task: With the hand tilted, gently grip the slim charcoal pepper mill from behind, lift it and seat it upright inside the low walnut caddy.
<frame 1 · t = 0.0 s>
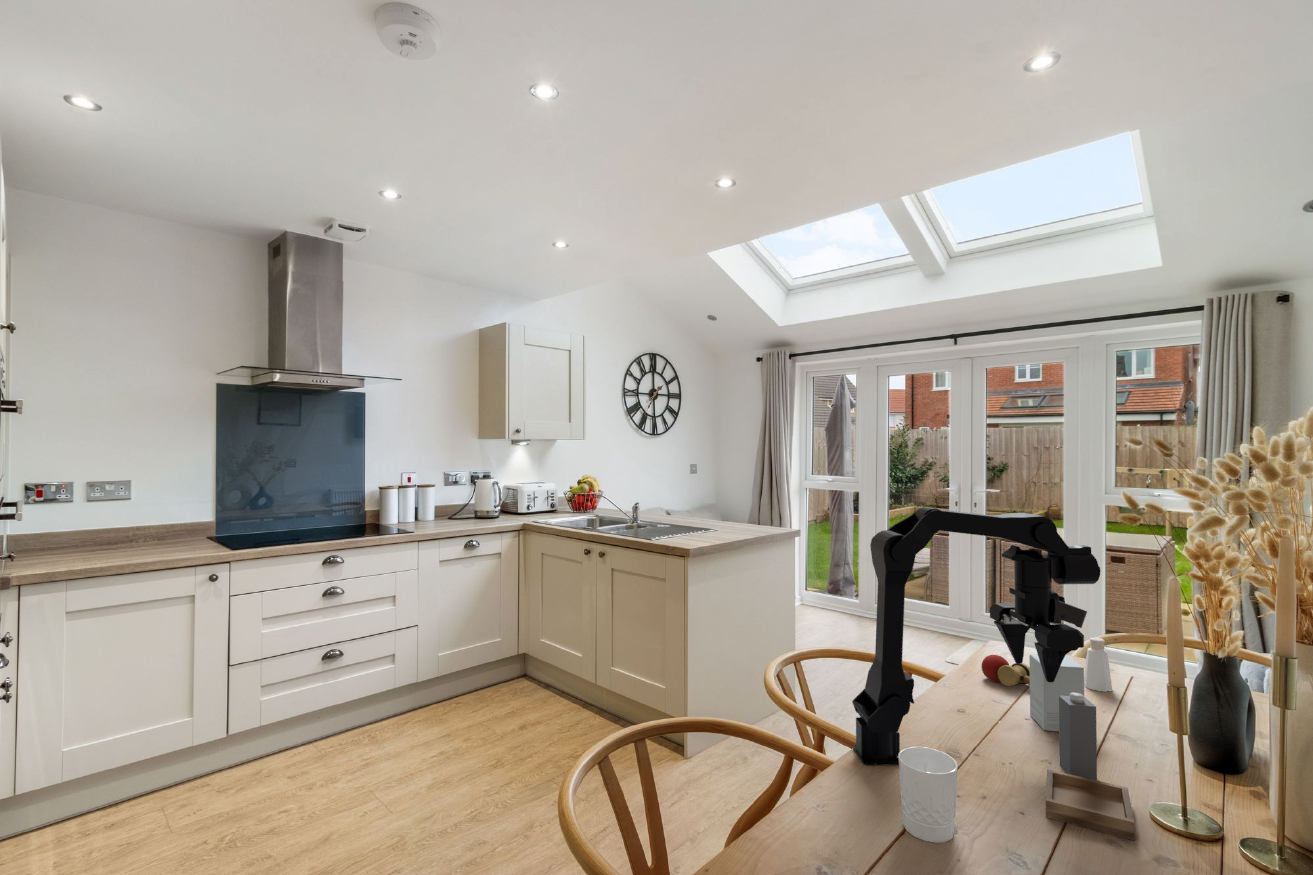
hand: (1033, 672, 113), 15 cm above the table, tool pointing down, fingers open, 9 cm apart
supplement box: (1056, 725, 125), on the table
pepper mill: (1077, 772, 107), on the table
pepper shaker: (1097, 688, 143), on the table
white cup: (928, 830, 92), on the table
caddy: (1087, 810, 96), on the table
kendama: (1023, 690, 143), on the table
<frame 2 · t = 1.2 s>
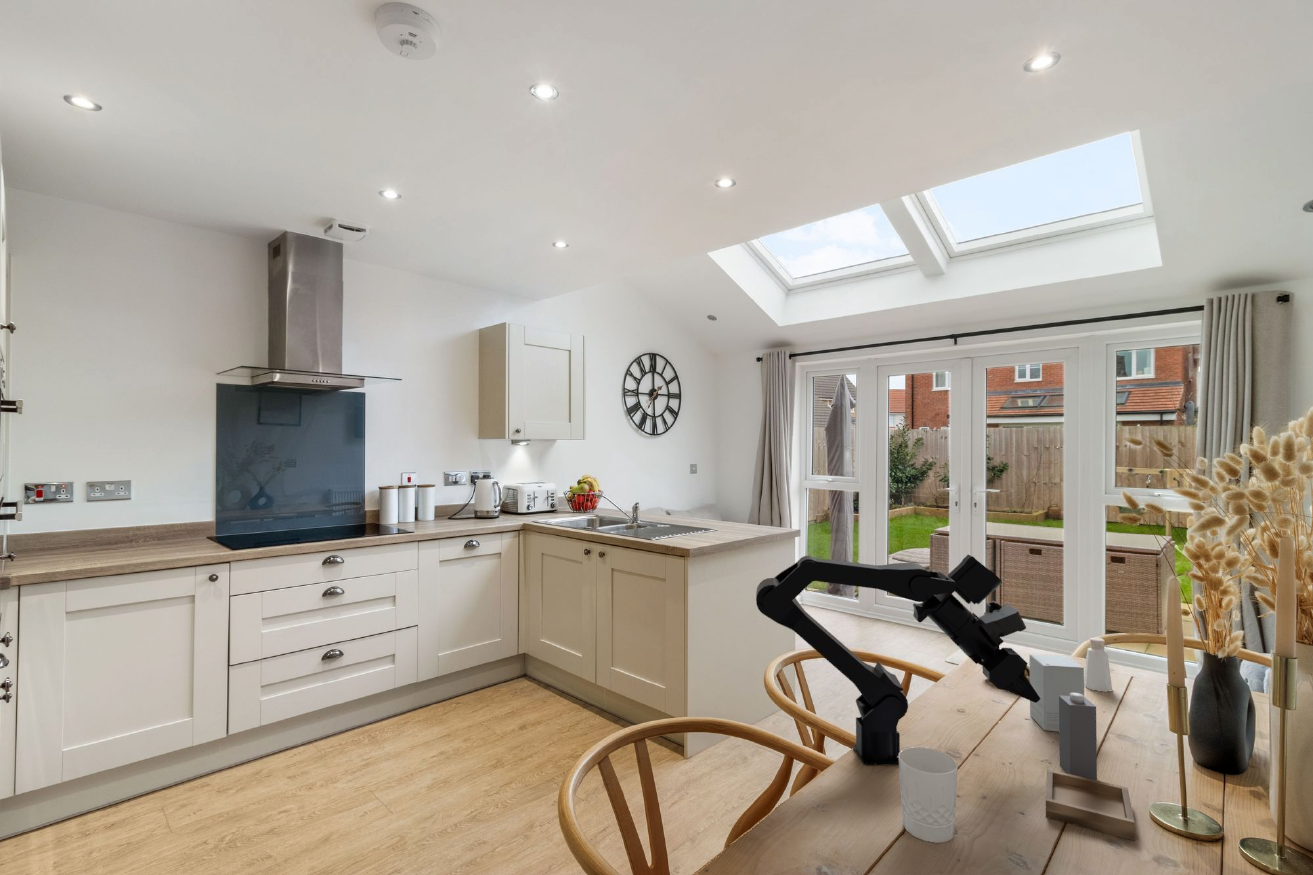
hand: (1026, 689, 108), 13 cm above the table, tool tilted 45°, fingers open, 9 cm apart
nothing on the table moved.
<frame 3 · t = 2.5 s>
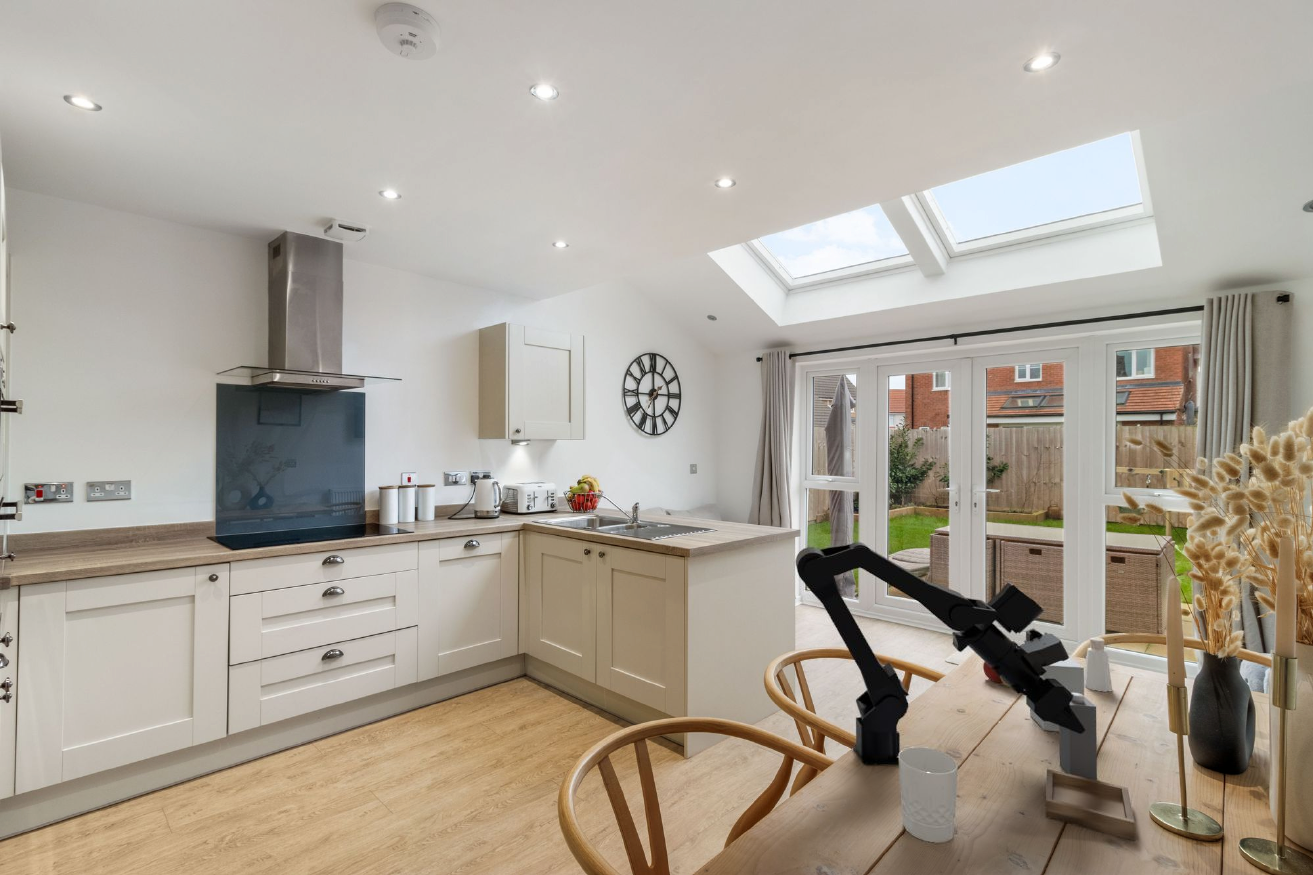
hand: (1069, 719, 107), 9 cm above the table, tool tilted 45°, fingers open, 9 cm apart
nothing on the table moved.
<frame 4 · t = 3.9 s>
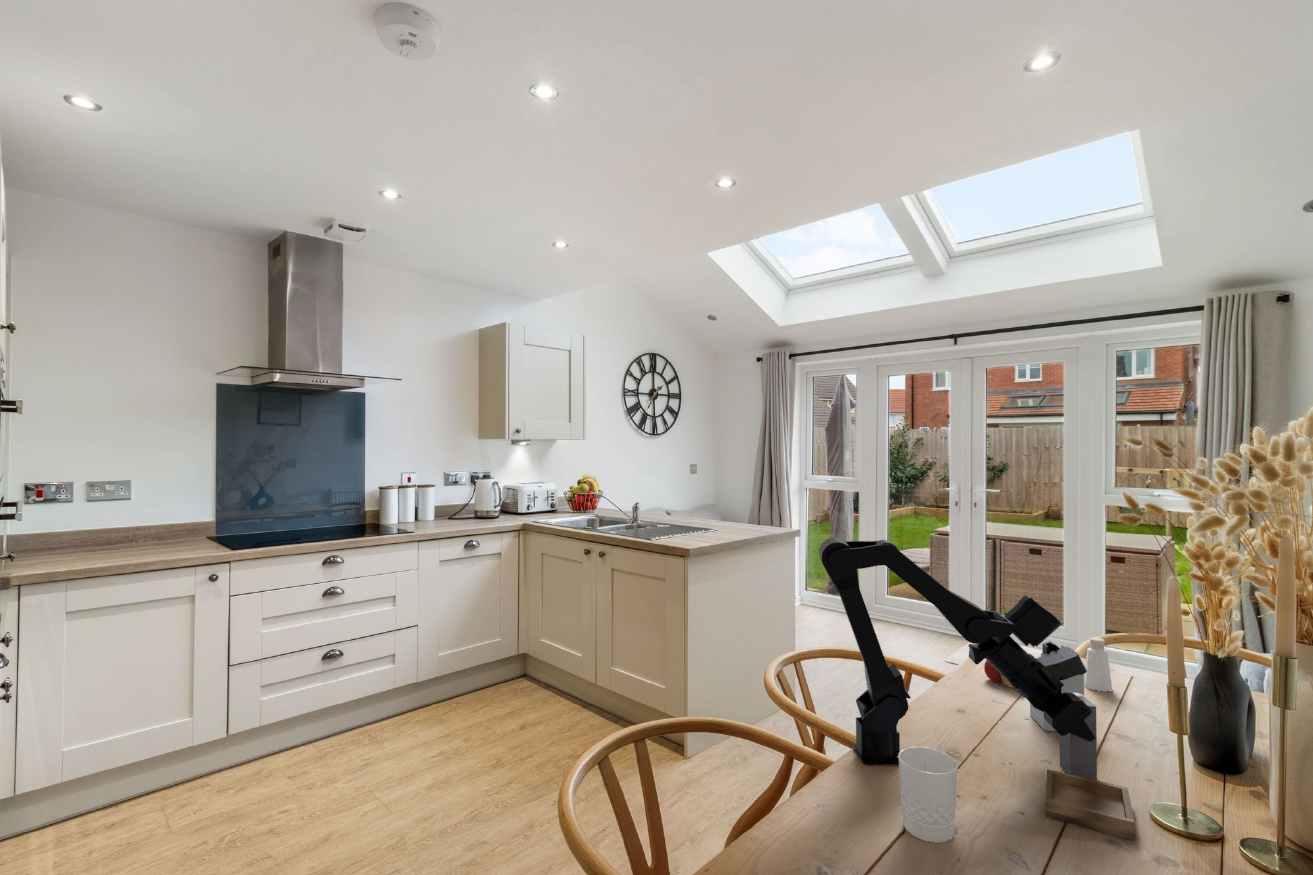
hand: (1086, 733, 107), 7 cm above the table, tool tilted 45°, fingers closed on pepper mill, 4 cm apart
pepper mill: (1077, 772, 107), on the table, touching gripper
everything else where it was.
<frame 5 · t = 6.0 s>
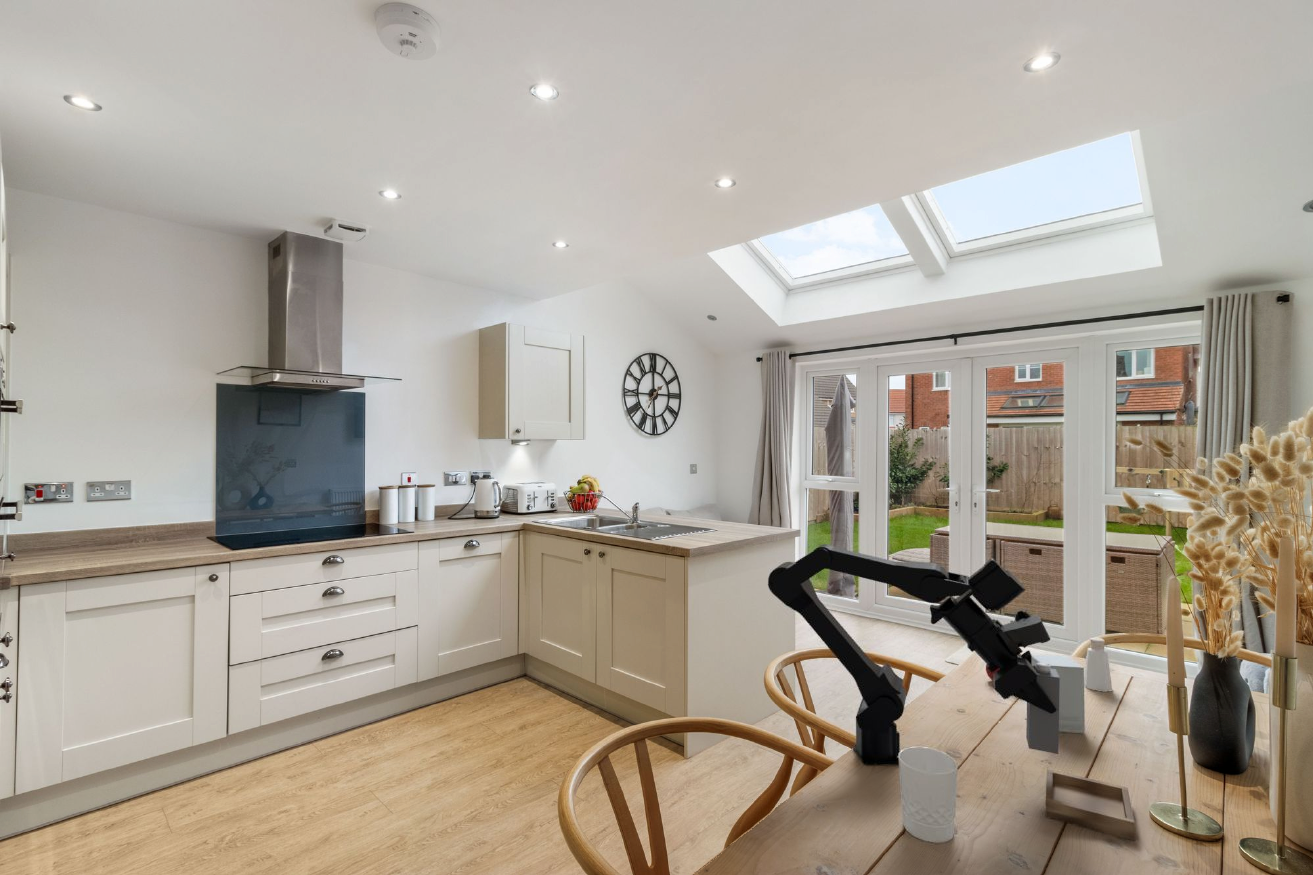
hand: (1052, 706, 101), 13 cm above the table, tool tilted 45°, fingers closed on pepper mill, 4 cm apart
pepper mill: (1042, 745, 102), point 7 cm above the table, touching gripper
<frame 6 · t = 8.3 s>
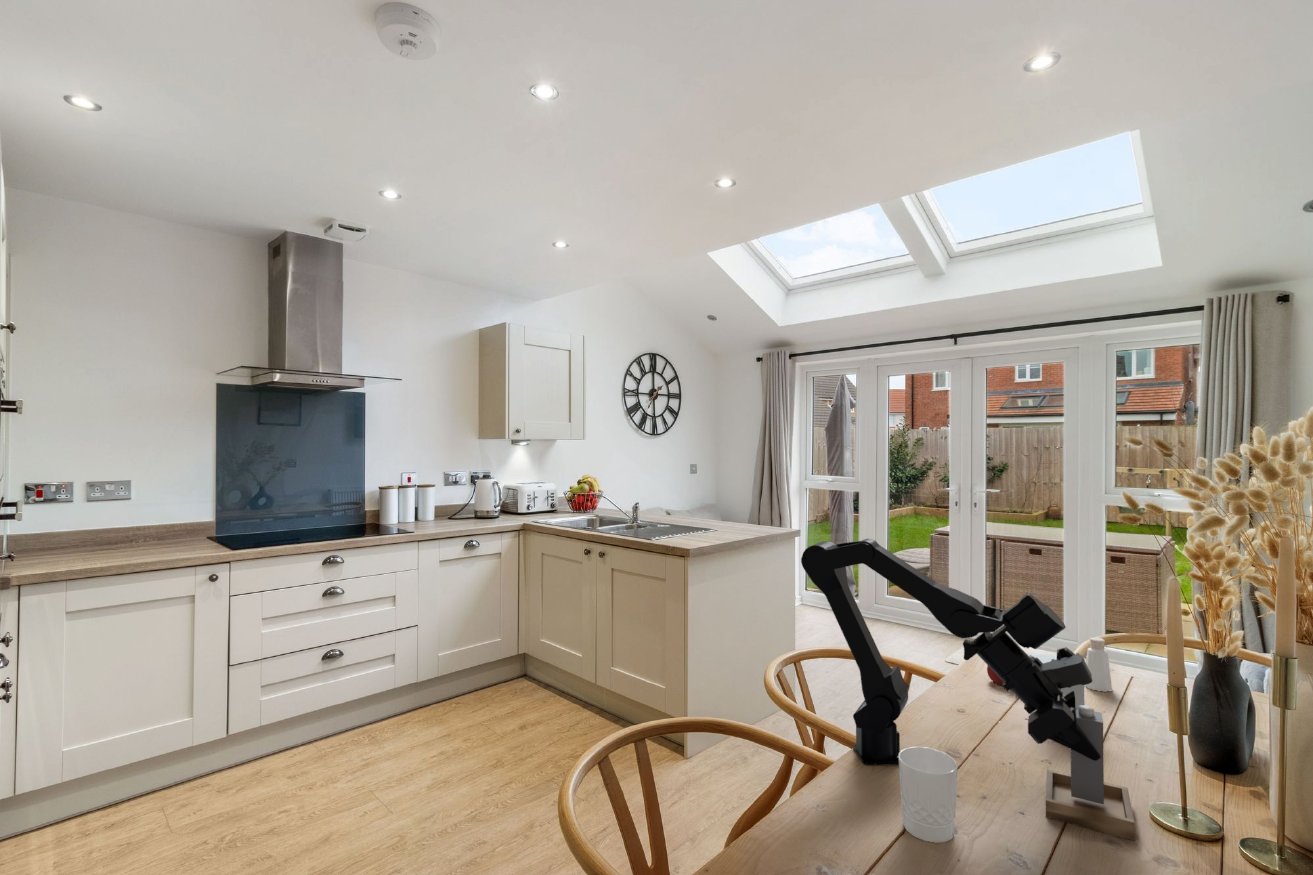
hand: (1097, 752, 95), 9 cm above the table, tool tilted 45°, fingers closed on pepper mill, 4 cm apart
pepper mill: (1086, 793, 96), point 2 cm above the table, touching gripper
when the fingers open (9 cm above the table, at t = 8.4 s): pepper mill drops 1 cm, resting on caddy.
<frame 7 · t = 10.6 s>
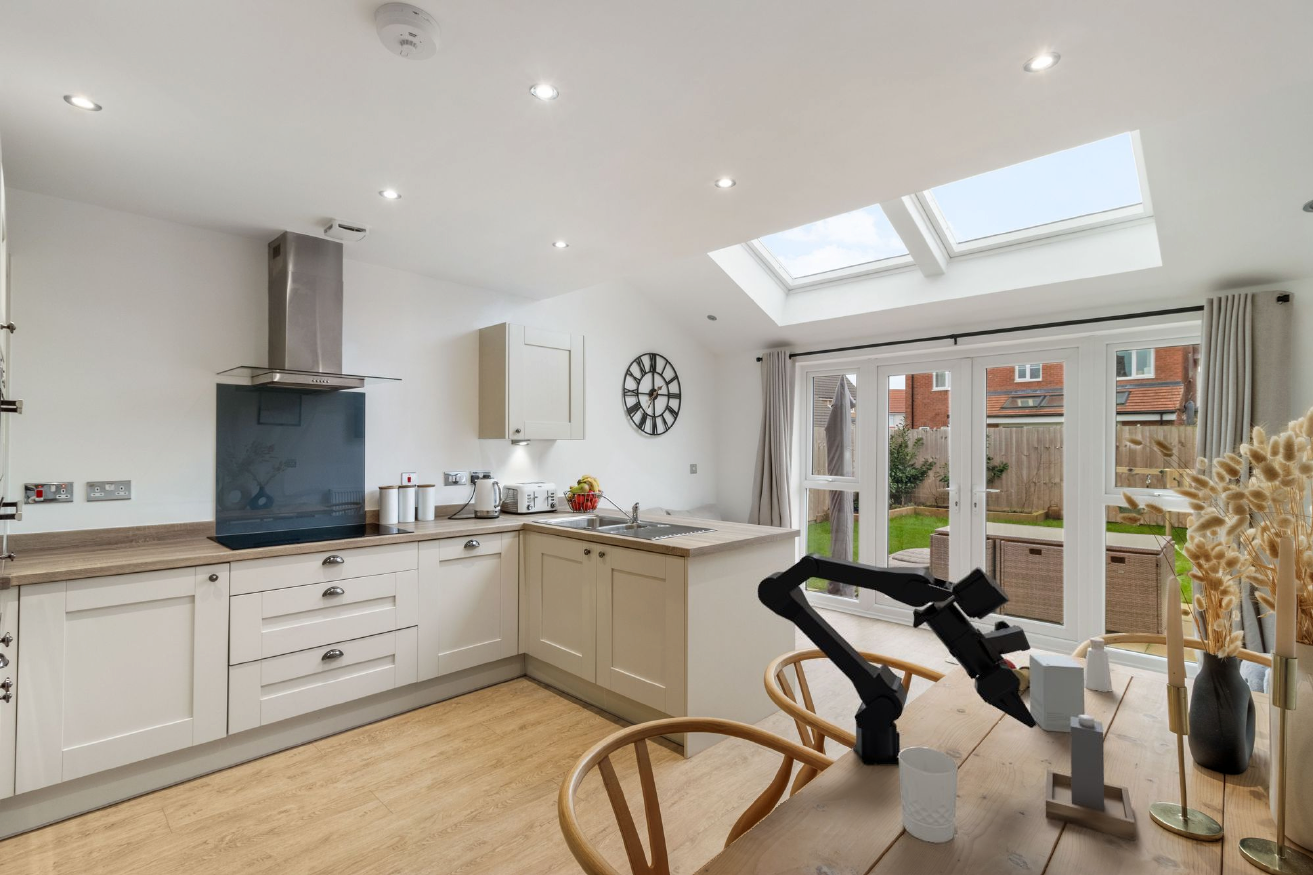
hand: (1028, 717, 102), 12 cm above the table, tool tilted 40°, fingers open, 9 cm apart
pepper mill: (1087, 803, 96), point 1 cm above the table, touching caddy
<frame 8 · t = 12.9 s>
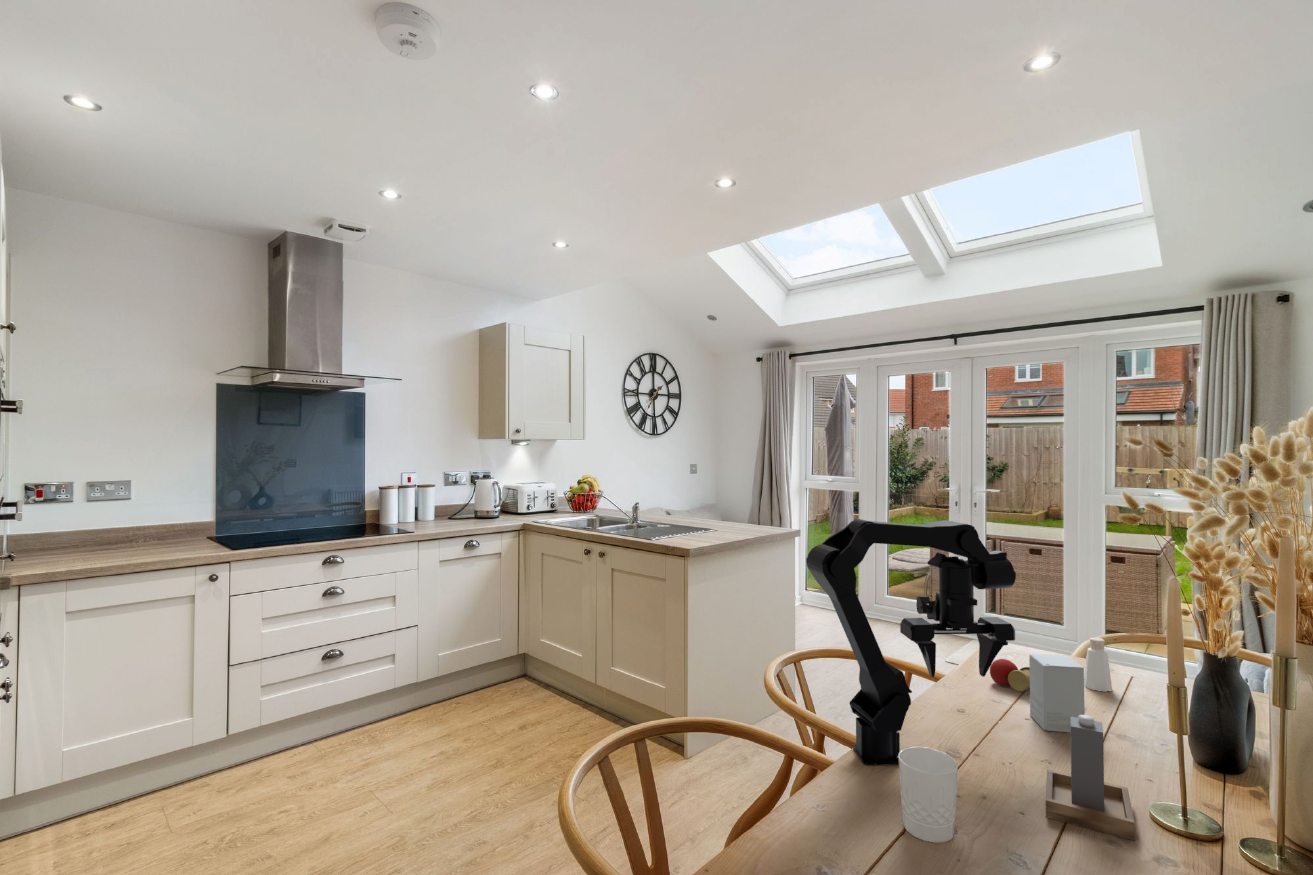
hand: (957, 676, 116), 13 cm above the table, tool pointing down, fingers open, 9 cm apart
at the end: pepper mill inside the target area on the caddy (0.0 cm from its centre), point 1.0 cm above the caddy's base; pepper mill tilted 0°; the gripper is holding nothing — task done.
